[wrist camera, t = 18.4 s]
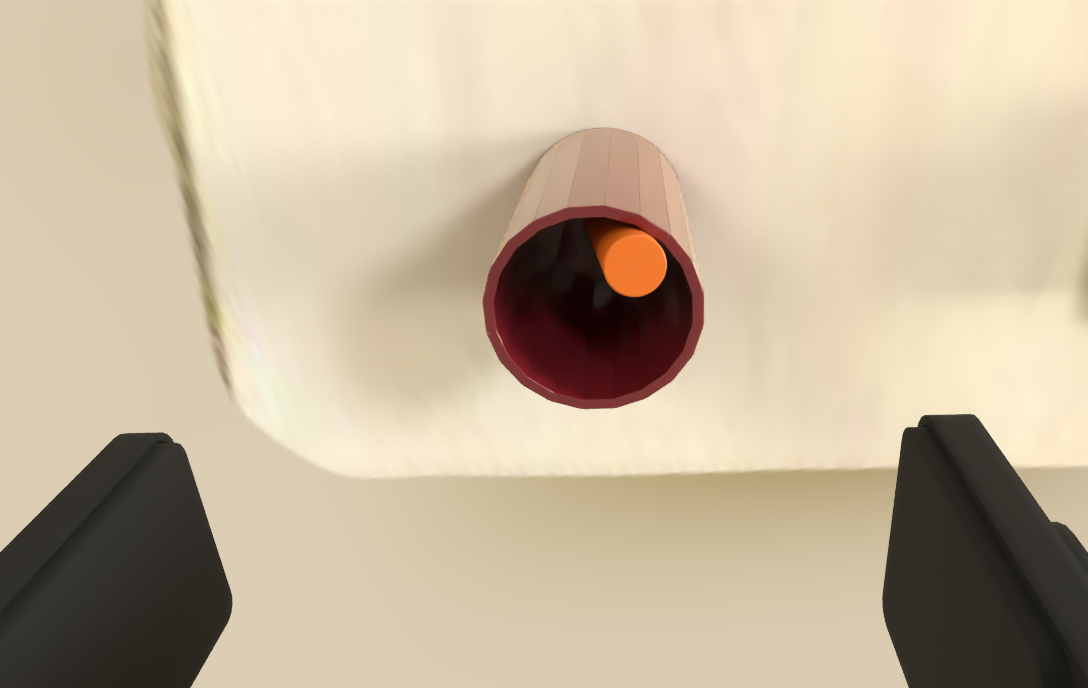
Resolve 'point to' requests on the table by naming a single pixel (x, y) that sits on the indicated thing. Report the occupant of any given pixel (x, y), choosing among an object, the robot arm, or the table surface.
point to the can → (593, 277)
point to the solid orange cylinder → (627, 256)
